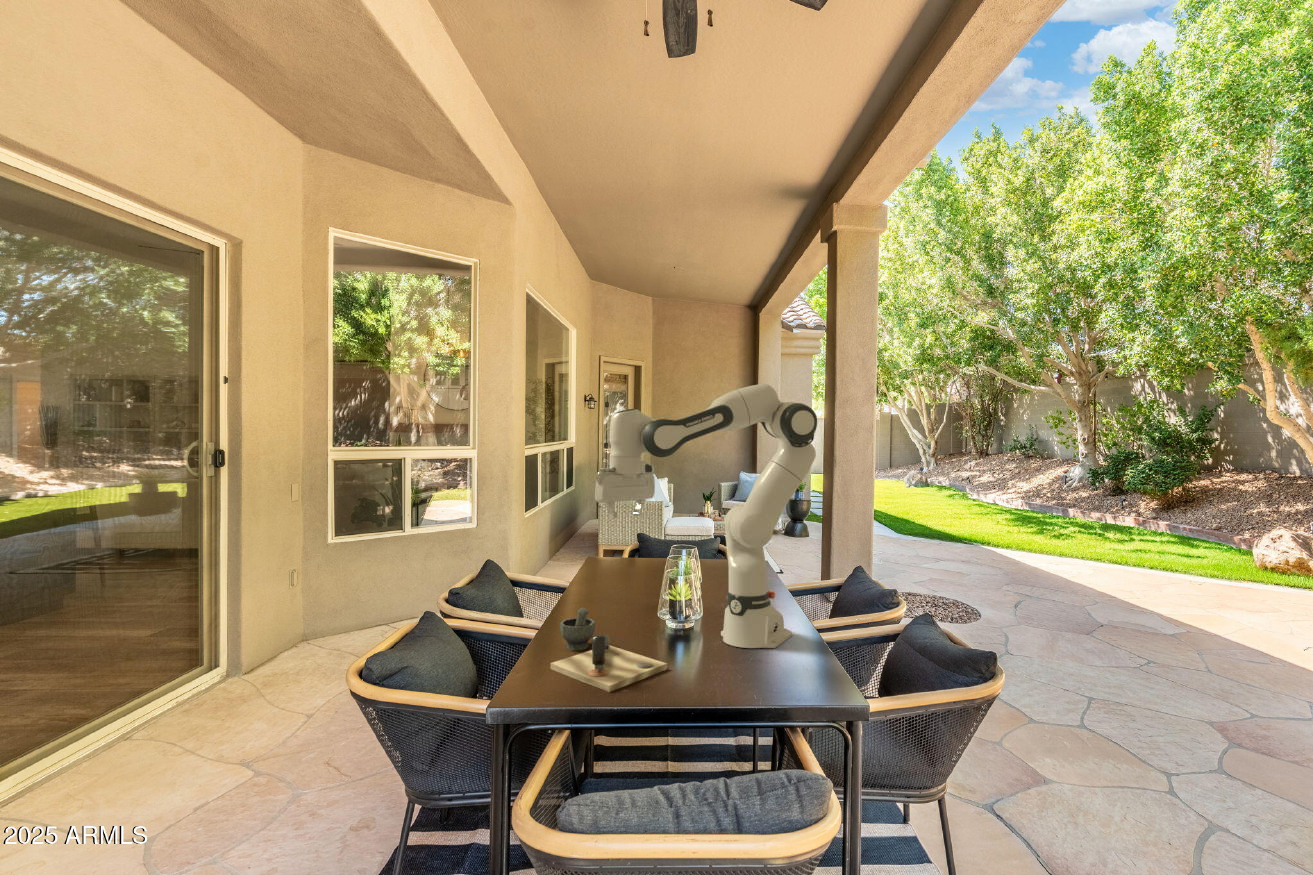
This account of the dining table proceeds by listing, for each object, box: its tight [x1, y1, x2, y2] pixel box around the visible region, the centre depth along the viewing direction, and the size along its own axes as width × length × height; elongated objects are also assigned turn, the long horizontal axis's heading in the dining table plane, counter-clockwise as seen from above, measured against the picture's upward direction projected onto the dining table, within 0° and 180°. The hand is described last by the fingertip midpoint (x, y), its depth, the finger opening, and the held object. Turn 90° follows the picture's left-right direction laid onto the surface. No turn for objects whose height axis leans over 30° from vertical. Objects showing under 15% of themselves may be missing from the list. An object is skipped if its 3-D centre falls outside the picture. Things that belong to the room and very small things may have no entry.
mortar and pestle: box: [559, 607, 596, 651], centre depth 179 cm, size 11×9×12 cm
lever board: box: [549, 644, 668, 693], centre depth 162 cm, size 20×22×2 cm
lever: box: [591, 633, 610, 669], centre depth 163 cm, size 4×20×8 cm, turn 2°
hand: (625, 517), depth 176 cm, fingers open, 8 cm apart
